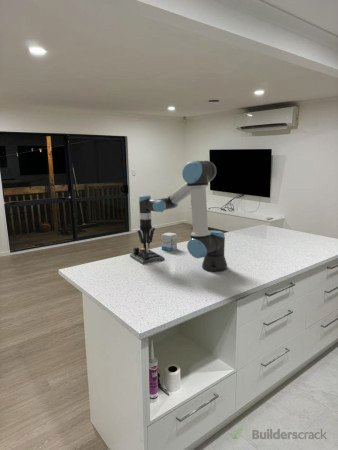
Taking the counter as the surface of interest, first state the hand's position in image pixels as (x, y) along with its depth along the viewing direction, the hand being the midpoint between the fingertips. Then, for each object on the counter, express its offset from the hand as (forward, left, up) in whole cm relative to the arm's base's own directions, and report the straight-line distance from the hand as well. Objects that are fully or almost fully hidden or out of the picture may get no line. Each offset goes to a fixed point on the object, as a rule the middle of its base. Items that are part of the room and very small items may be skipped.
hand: (146, 252), depth 214 cm
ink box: (+10, -24, -4) cm, 26 cm away
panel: (0, 0, -4) cm, 4 cm away
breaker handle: (0, +3, -2) cm, 4 cm away
